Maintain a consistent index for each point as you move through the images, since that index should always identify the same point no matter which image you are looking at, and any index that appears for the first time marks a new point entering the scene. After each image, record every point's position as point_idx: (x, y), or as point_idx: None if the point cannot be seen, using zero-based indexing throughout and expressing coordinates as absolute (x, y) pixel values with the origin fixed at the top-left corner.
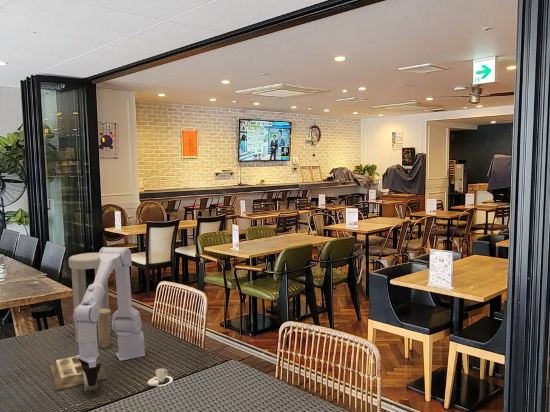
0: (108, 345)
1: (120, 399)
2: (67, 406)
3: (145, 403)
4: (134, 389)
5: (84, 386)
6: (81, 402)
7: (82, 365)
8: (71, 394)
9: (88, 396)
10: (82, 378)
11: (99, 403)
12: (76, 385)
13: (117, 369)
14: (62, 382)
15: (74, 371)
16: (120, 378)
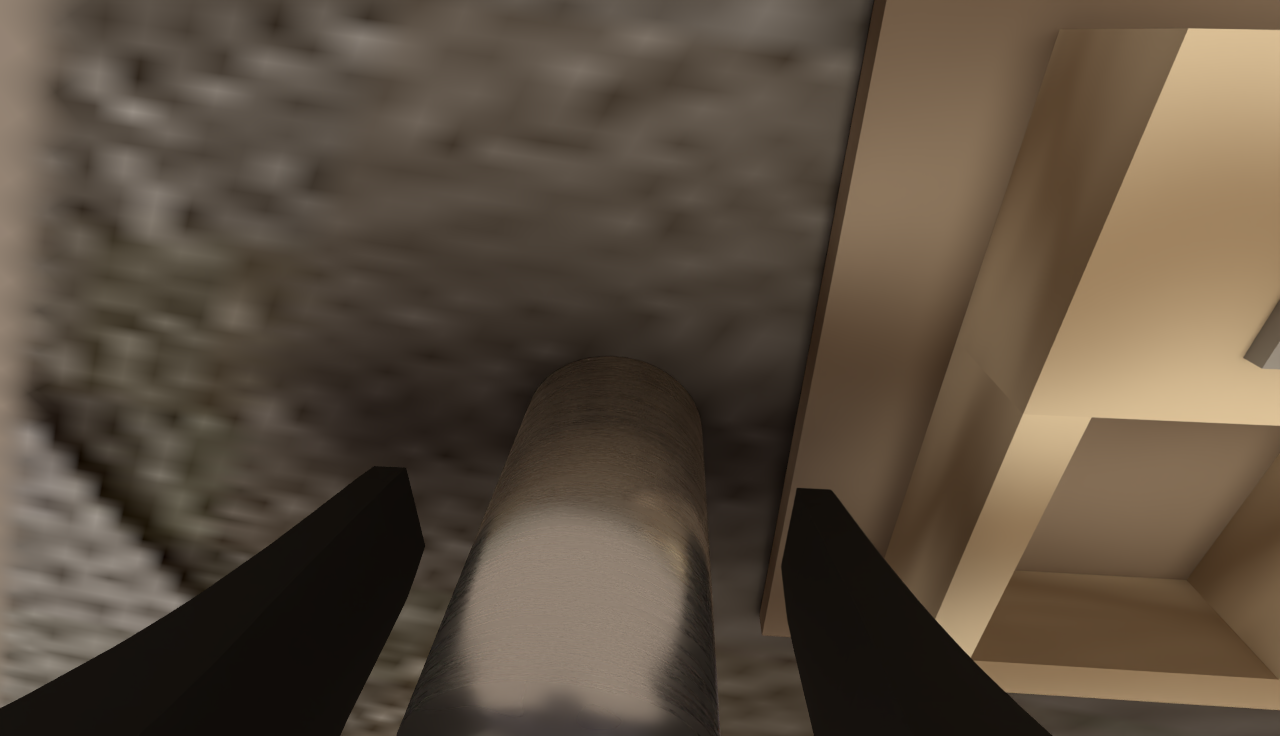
0: None
1: (189, 598)
2: (85, 8)
3: None
4: (376, 710)
5: (577, 396)
6: (200, 250)
7: (898, 715)
8: (560, 155)
9: (373, 366)
10: (949, 424)
11: (127, 432)
12: (827, 290)
13: None
14: (1088, 48)
15: (1260, 391)
16: None
